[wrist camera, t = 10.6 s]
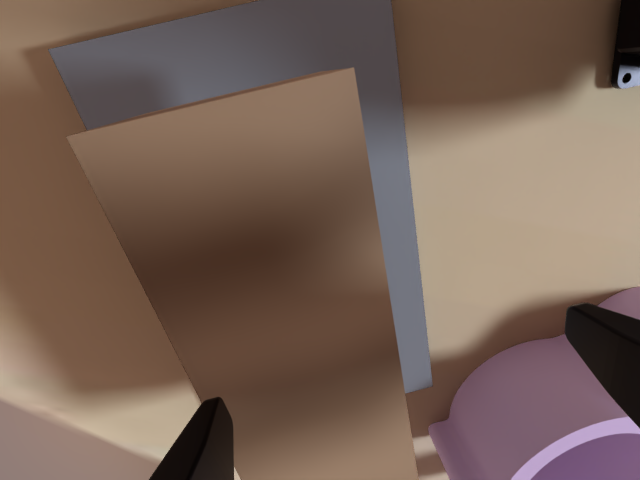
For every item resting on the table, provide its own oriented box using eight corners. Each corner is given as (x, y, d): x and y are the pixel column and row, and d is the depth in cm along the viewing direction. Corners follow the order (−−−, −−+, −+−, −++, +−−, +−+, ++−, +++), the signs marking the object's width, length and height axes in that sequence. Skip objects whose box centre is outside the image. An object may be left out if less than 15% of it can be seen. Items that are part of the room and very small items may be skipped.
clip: (635, 250, 24) (761, 309, 18) (687, 345, 29) (801, 419, 23) (407, 415, 28) (446, 510, 22) (485, 475, 33) (536, 568, 27)
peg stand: (377, -21, 16) (440, -78, 10) (424, 370, 26) (469, 454, 20) (67, 51, 16) (-55, 36, 10) (237, 419, 26) (227, 520, 20)
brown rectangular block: (391, 439, 19) (430, 552, 14) (290, 466, 19) (297, 589, 14) (320, 71, 11) (353, 67, 7) (148, 113, 11) (65, 136, 7)
